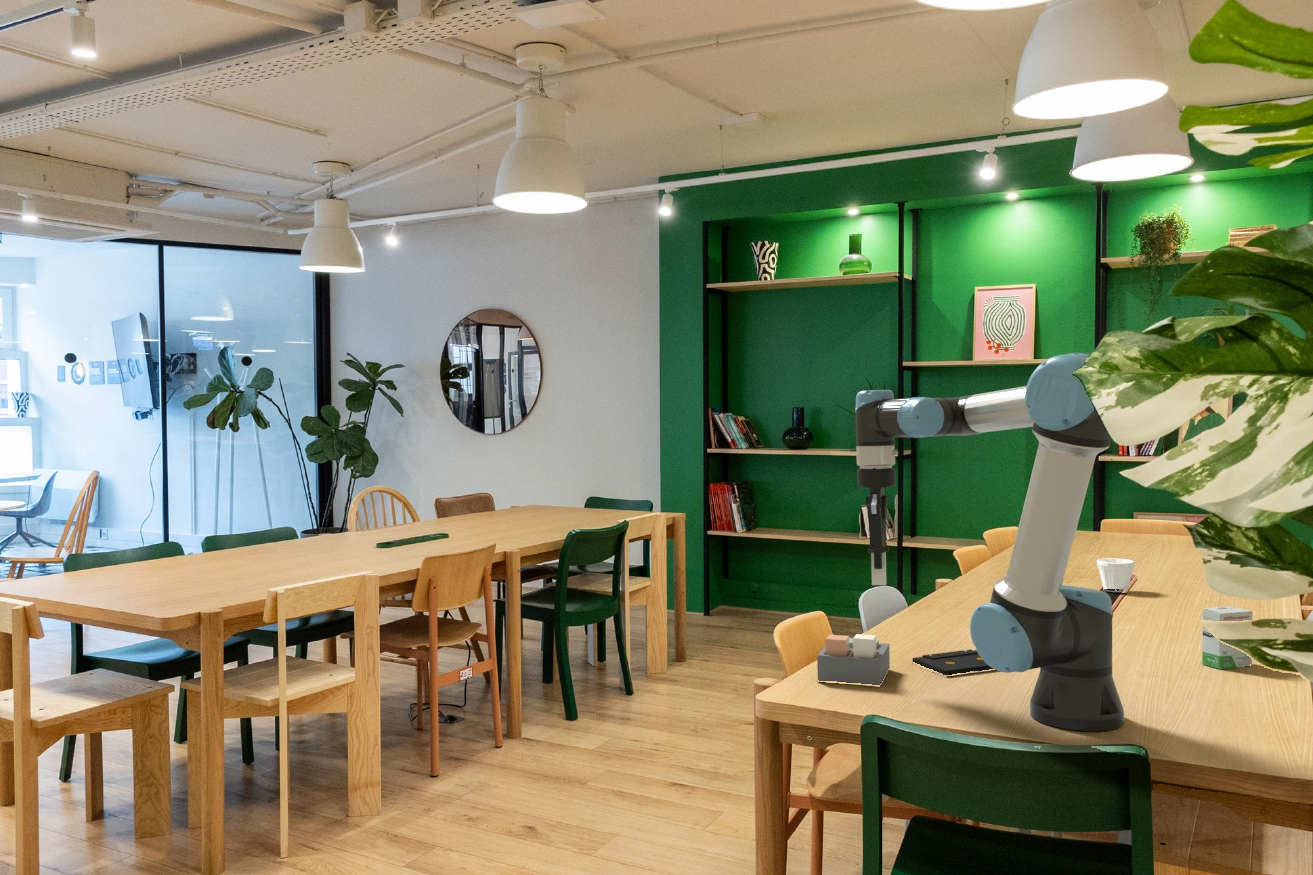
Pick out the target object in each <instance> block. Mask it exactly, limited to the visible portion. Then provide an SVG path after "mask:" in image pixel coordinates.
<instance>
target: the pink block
mask: <svg viewBox="0 0 1313 875" xmlns="http://www.w3.org/2000/svg"><path fill="white" fill-rule="evenodd" d="M849 638H850V636H849V635H839V634H838V635H837V634H828V636H826V638H825V646H826V655H838V656H848V655H849Z"/></svg>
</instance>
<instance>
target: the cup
mask: <svg viewBox="0 0 1313 875" xmlns="http://www.w3.org/2000/svg"><path fill="white" fill-rule="evenodd" d="M1096 565H1097V568H1098V572H1099V576H1100V580H1101V584H1102V588H1103V590H1104V589H1115V590H1116V589H1124V590H1126V593H1125V594H1127V593H1128V591H1129V588H1130V584H1131V579H1132V575H1133V572H1134V568H1135V561H1134V560H1133V559H1132V560H1131V559H1127V558H1126V559H1125V558H1114V557H1113V558H1109V557H1106V558H1098V559H1097V560H1096Z"/></svg>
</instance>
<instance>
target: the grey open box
mask: <svg viewBox="0 0 1313 875" xmlns="http://www.w3.org/2000/svg"><path fill="white" fill-rule="evenodd" d="M853 638H854V637H849V655H848V656H838V655H826V645H825V646H824V647H823V648H822V649H821V650H820V651H819V653H818V654H817V661H816V662H817V664H816V665H817V666H816V667H817V668H816V669H817V681H818V680H819V681H837V682H846V683H861V684H872V685H880V684H881V683H882V681H883V679H884V677H885V675H886V673H887V671H888V669H889V668H891V667H890V664H891V663H890V661H891V660H890V656H891V655H890V643H885V642H884V643H883V642H880V640H879V639H876V652H877V657H876V658H866V657H853ZM883 682H884V681H883ZM882 684H883V683H882Z"/></svg>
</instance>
